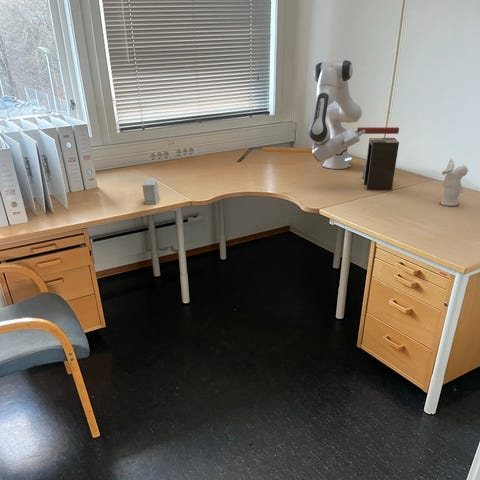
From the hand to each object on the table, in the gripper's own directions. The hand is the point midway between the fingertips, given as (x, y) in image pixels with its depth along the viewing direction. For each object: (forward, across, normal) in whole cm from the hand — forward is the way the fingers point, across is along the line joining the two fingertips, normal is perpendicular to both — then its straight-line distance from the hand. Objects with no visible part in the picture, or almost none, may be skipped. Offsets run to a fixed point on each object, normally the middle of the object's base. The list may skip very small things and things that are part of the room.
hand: (364, 129), depth 261 cm
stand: (-6, +2, +34) cm, 34 cm away
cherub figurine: (+20, -28, +49) cm, 60 cm away
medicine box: (-8, +19, +33) cm, 39 cm away
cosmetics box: (-116, -27, -29) cm, 123 cm away
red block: (+5, 0, +5) cm, 7 cm away
